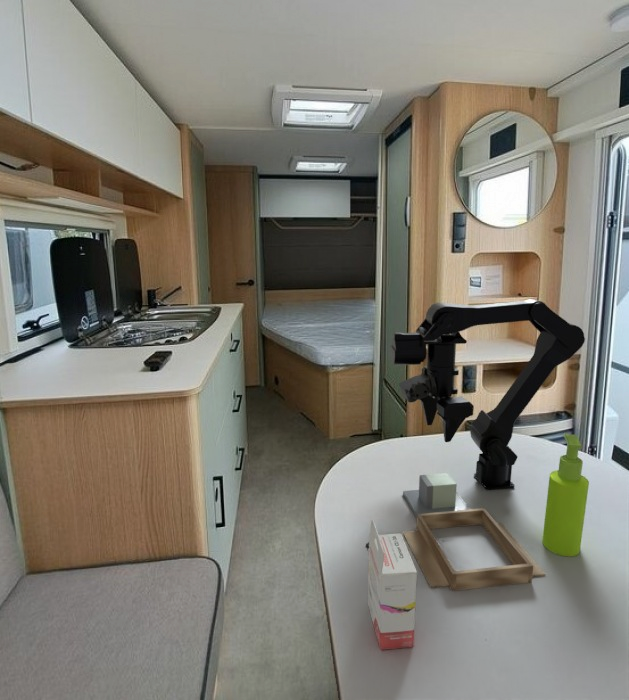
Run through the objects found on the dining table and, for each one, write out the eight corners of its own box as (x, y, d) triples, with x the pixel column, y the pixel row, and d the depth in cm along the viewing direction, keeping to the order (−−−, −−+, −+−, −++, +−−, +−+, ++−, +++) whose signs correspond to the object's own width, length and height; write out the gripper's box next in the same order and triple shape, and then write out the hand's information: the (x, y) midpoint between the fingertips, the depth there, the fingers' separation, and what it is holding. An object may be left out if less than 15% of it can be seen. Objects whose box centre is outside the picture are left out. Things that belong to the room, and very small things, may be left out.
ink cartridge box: (416, 648, 62) (419, 552, 59) (379, 651, 62) (381, 555, 58) (399, 600, 71) (401, 513, 67) (366, 602, 70) (367, 516, 67)
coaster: (452, 490, 101) (452, 486, 100) (473, 516, 91) (473, 513, 91) (403, 494, 99) (403, 491, 99) (418, 521, 90) (419, 518, 90)
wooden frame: (497, 520, 90) (499, 506, 89) (549, 580, 74) (551, 563, 73) (401, 529, 87) (401, 515, 87) (433, 593, 72) (434, 576, 71)
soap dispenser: (575, 535, 85) (588, 433, 80) (582, 559, 79) (597, 450, 74) (539, 529, 87) (550, 429, 82) (544, 552, 80) (556, 445, 76)
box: (446, 494, 97) (447, 472, 96) (455, 506, 93) (456, 483, 92) (418, 497, 97) (419, 475, 96) (426, 509, 92) (427, 486, 91)
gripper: (389, 355, 105) (388, 420, 109) (421, 379, 87) (419, 455, 91) (435, 352, 107) (433, 416, 111) (477, 375, 89) (472, 450, 93)
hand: (438, 433), depth 101 cm, fingers open, 9 cm apart
